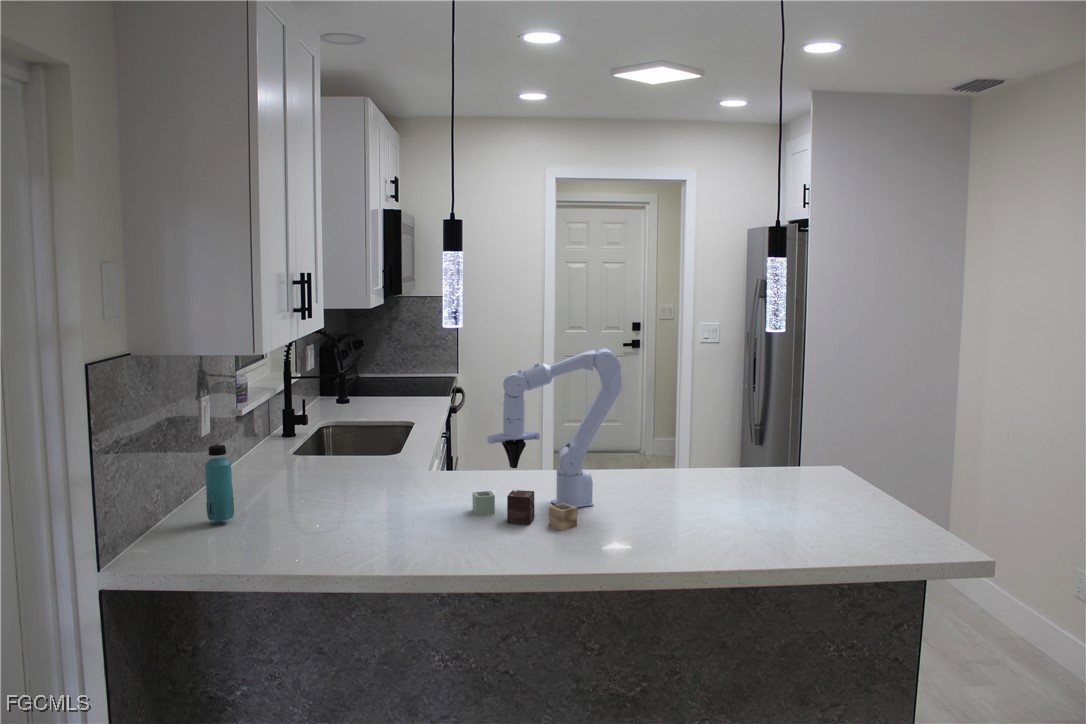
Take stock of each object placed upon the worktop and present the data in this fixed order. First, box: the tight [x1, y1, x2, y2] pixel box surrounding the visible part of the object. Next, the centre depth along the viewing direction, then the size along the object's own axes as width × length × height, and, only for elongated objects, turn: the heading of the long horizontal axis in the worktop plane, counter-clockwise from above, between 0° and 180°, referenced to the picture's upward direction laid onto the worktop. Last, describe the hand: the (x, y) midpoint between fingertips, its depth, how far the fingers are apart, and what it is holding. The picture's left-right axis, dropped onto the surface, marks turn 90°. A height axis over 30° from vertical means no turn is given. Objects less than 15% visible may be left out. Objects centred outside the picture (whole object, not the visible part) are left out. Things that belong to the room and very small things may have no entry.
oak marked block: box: [548, 503, 578, 531], centre depth 215 cm, size 5×5×5 cm
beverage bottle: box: [204, 444, 235, 522], centre depth 215 cm, size 6×7×20 cm
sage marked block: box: [472, 490, 496, 516], centre depth 226 cm, size 5×5×5 cm
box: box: [506, 489, 536, 526], centre depth 219 cm, size 6×6×7 cm
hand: (513, 467), depth 232 cm, fingers closed
